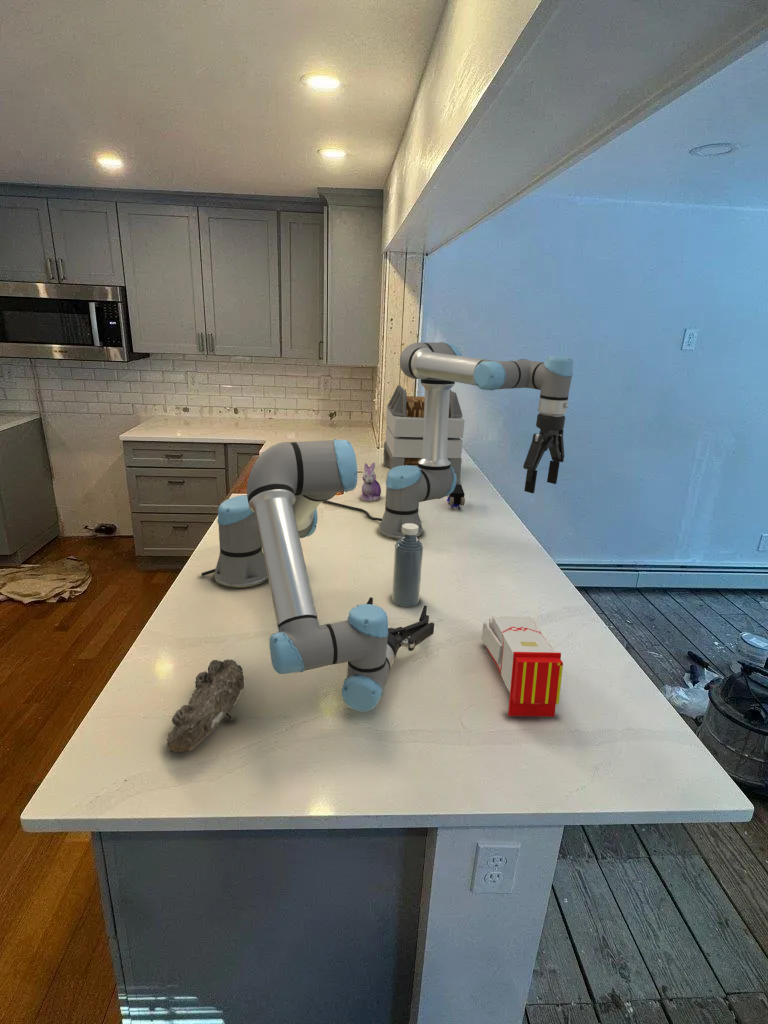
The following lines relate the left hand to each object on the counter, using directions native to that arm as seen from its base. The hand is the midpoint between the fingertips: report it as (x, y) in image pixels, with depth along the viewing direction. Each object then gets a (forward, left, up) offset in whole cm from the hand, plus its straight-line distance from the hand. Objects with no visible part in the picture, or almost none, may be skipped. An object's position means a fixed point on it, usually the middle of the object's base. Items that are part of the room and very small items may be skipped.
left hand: (398, 606), depth 140 cm
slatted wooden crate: (-17, +141, -6) cm, 142 cm away
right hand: (+33, +41, +22) cm, 57 cm away
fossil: (-28, -43, -6) cm, 51 cm away
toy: (+29, -13, -6) cm, 32 cm away
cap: (0, +14, +16) cm, 21 cm away
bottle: (0, +14, -6) cm, 15 cm away
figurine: (-30, +95, -6) cm, 100 cm away
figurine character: (+5, +98, -6) cm, 98 cm away
